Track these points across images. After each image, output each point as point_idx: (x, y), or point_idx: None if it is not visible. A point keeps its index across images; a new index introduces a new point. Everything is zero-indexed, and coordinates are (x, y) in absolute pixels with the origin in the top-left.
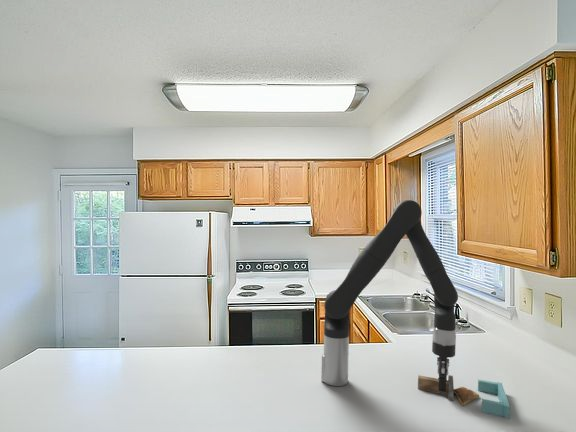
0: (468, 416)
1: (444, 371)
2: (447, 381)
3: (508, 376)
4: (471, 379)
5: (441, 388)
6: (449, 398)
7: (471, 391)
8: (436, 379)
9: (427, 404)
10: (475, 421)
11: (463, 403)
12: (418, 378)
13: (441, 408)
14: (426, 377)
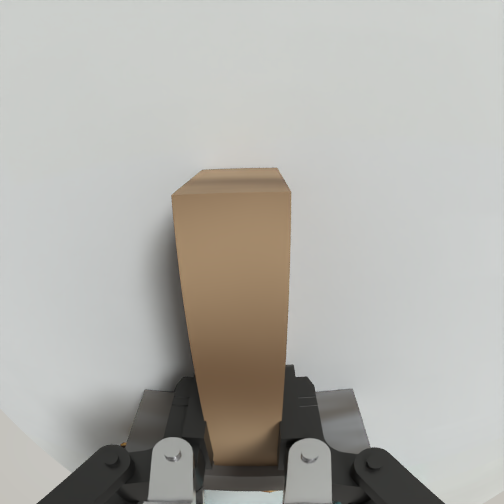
0: (56, 426)
1: (337, 499)
2: (256, 462)
3: (475, 479)
4: (464, 436)
5: (181, 398)
6: (144, 402)
7: None
8: (254, 404)
9: (7, 269)
10: (44, 434)
11: (125, 445)
12: (175, 198)
13: (25, 341)
14: (256, 311)
